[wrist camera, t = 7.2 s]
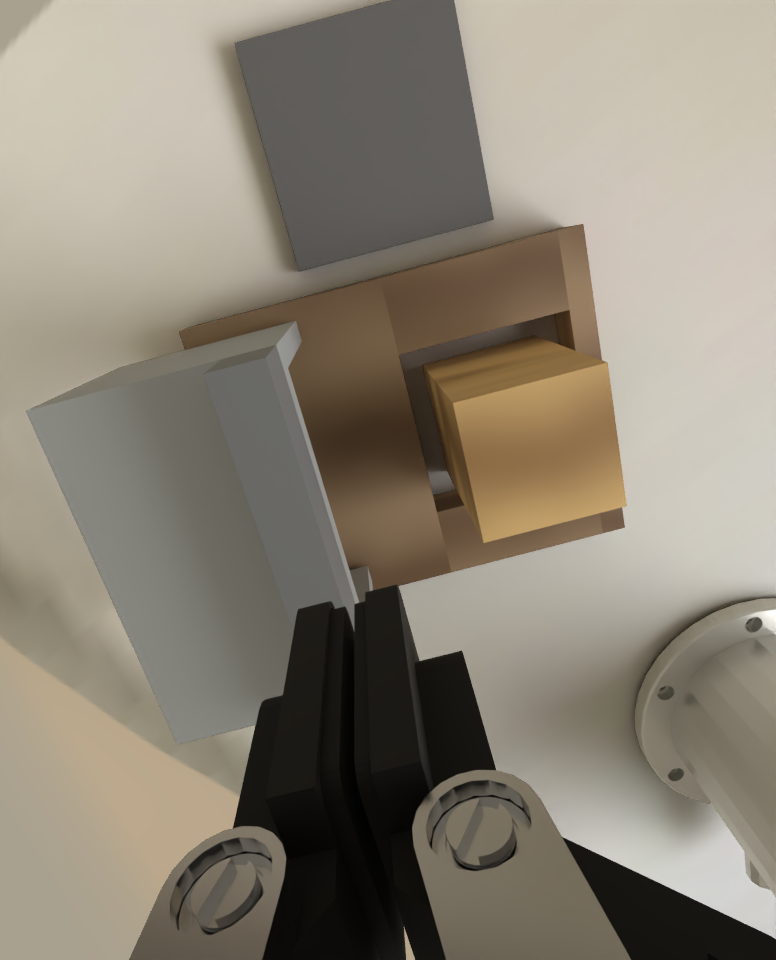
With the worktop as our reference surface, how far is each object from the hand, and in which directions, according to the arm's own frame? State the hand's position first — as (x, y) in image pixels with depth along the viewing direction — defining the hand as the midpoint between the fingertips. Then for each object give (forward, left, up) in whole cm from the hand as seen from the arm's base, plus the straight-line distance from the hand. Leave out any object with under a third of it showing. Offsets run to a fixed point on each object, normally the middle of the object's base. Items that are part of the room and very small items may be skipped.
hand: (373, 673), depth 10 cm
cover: (-1, +5, -16) cm, 17 cm away
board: (-1, -2, -19) cm, 19 cm away
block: (-1, -6, -19) cm, 20 cm away
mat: (+10, -3, -19) cm, 22 cm away
